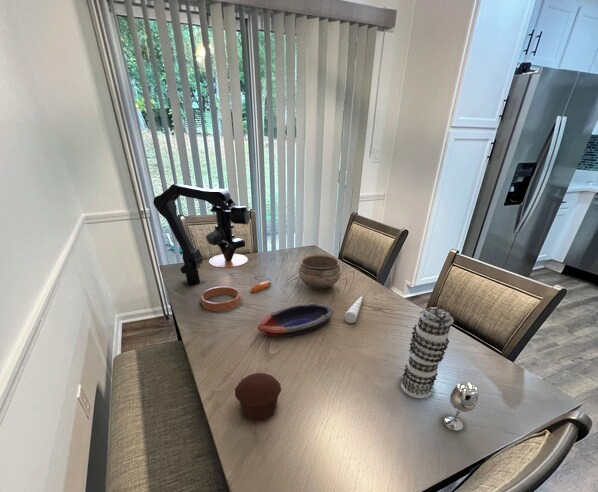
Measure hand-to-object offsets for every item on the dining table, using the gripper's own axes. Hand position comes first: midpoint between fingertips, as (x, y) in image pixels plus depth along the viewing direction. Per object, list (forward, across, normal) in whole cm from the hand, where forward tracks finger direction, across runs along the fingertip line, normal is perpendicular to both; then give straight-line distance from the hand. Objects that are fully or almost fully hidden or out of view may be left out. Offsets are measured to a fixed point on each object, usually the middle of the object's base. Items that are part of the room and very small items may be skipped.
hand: (228, 259), depth 141 cm
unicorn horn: (+13, +55, +20) cm, 60 cm away
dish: (+13, +45, -6) cm, 47 cm away
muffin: (+13, +66, -43) cm, 79 cm away
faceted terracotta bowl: (+13, +10, -13) cm, 21 cm away
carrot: (+13, +12, +7) cm, 19 cm away
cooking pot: (+13, +30, +28) cm, 43 cm away
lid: (+1, 0, 0) cm, 1 cm away
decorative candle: (+13, +93, -7) cm, 94 cm away
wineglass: (+13, +106, -13) cm, 108 cm away
